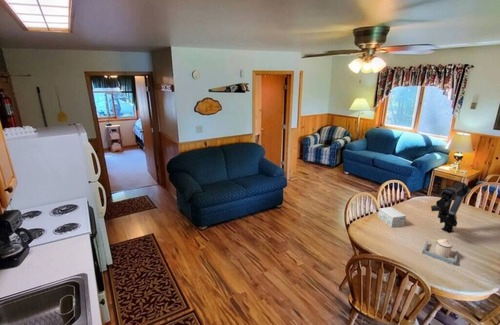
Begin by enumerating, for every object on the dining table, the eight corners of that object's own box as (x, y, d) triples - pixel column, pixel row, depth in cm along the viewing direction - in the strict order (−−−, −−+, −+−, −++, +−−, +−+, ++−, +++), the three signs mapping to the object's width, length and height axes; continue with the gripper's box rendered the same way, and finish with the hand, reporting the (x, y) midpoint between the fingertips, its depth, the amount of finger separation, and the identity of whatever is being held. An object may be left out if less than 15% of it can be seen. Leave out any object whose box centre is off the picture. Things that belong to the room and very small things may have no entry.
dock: (426, 243, 202) (426, 240, 201) (457, 254, 190) (458, 251, 189) (422, 253, 191) (422, 250, 190) (455, 265, 179) (456, 262, 178)
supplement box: (404, 225, 226) (406, 215, 223) (391, 227, 223) (393, 217, 220) (390, 215, 242) (391, 206, 239) (377, 217, 239) (379, 208, 236)
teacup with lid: (452, 258, 186) (456, 243, 183) (439, 257, 187) (443, 243, 183) (441, 247, 198) (445, 233, 194) (428, 247, 198) (432, 233, 194)
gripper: (434, 197, 214) (429, 215, 219) (432, 205, 200) (427, 224, 205) (451, 201, 208) (446, 219, 212) (450, 210, 193) (444, 229, 198)
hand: (440, 223), depth 207 cm, fingers closed
